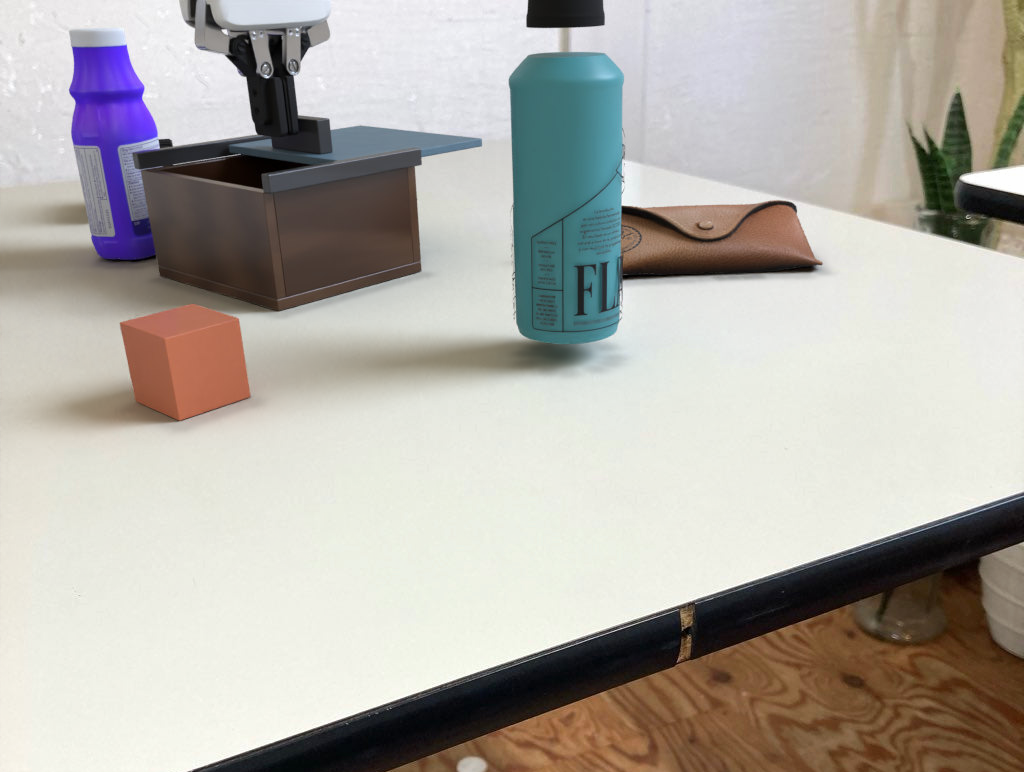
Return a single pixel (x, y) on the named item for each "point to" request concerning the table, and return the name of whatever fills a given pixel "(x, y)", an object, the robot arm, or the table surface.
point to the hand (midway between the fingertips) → (277, 134)
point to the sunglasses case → (713, 239)
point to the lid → (348, 143)
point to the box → (280, 221)
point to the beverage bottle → (567, 184)
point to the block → (186, 360)
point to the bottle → (111, 142)
